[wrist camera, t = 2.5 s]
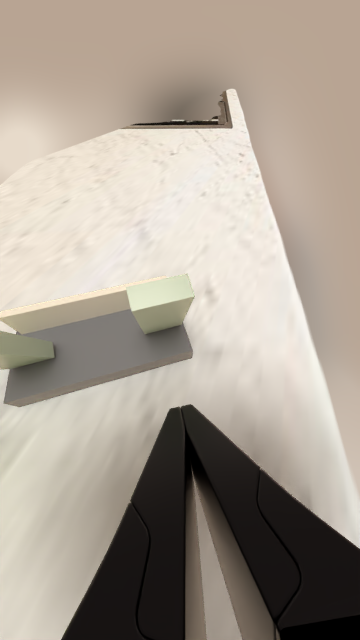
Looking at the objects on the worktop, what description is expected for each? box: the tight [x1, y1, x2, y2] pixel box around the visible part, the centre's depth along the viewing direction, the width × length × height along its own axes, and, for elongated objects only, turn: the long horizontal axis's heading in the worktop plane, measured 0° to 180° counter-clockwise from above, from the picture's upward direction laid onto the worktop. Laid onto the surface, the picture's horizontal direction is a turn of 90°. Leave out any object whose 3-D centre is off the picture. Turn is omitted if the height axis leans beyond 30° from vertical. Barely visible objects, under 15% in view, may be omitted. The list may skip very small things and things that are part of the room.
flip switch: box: [126, 274, 195, 334], centre depth 16 cm, size 2×4×9 cm, turn 106°
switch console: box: [0, 276, 193, 407], centre depth 20 cm, size 8×18×5 cm, turn 107°
